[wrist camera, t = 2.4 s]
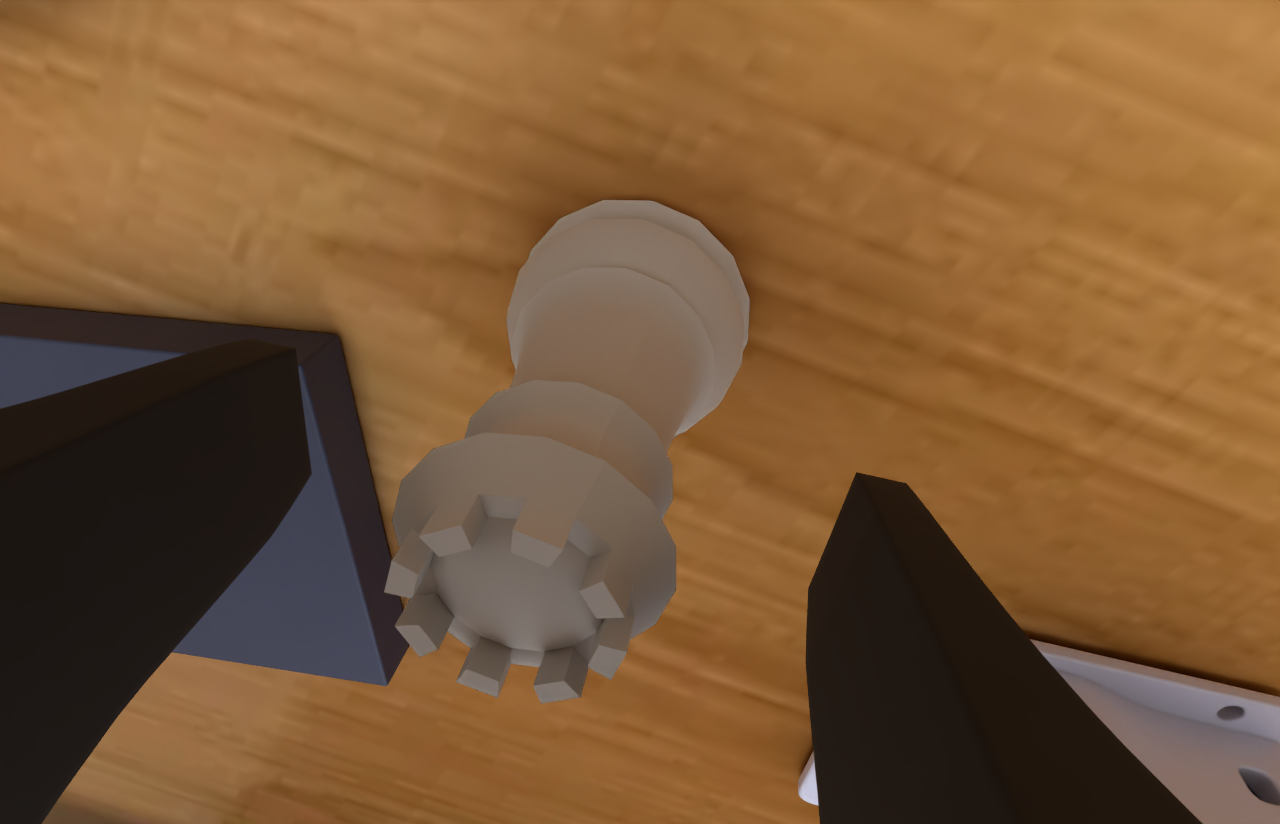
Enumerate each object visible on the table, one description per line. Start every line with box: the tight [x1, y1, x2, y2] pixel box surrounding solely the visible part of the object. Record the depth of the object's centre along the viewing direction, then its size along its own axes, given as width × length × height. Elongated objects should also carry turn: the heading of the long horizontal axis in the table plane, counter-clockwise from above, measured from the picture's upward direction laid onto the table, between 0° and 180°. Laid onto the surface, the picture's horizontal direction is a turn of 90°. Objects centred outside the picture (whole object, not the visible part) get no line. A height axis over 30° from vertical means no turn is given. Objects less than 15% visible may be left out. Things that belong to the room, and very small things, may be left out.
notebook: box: [0, 303, 410, 686], centre depth 18 cm, size 14×10×2 cm
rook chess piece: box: [384, 200, 750, 703], centre depth 10 cm, size 4×4×8 cm
